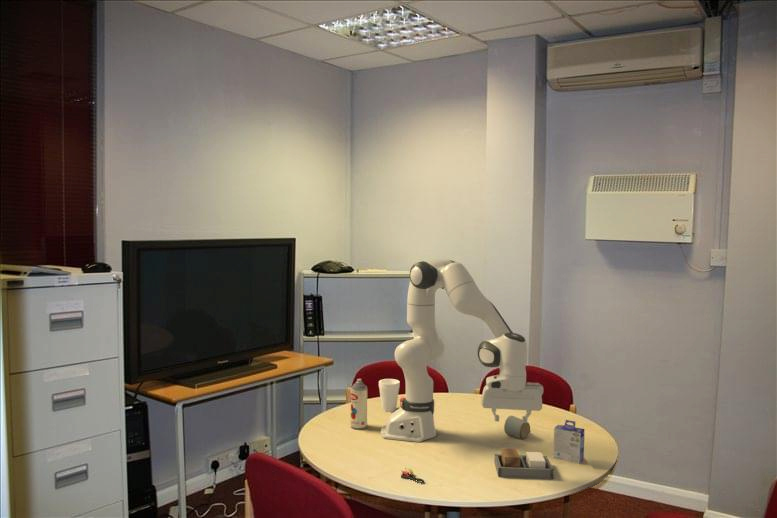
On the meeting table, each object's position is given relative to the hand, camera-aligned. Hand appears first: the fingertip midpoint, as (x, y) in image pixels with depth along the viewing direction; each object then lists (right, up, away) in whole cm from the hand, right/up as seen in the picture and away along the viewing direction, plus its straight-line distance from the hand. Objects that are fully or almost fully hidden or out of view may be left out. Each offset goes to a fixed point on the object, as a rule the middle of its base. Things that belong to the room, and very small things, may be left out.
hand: (510, 421), depth 205 cm
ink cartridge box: (+23, -18, +11) cm, 31 cm away
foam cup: (-41, -13, +69) cm, 81 cm away
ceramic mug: (+11, -16, +37) cm, 42 cm away
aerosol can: (-54, -15, +45) cm, 72 cm away
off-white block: (+8, -17, 0) cm, 19 cm away
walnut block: (0, -17, +1) cm, 17 cm away
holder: (+4, -18, +1) cm, 18 cm away
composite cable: (-34, -18, -5) cm, 39 cm away
